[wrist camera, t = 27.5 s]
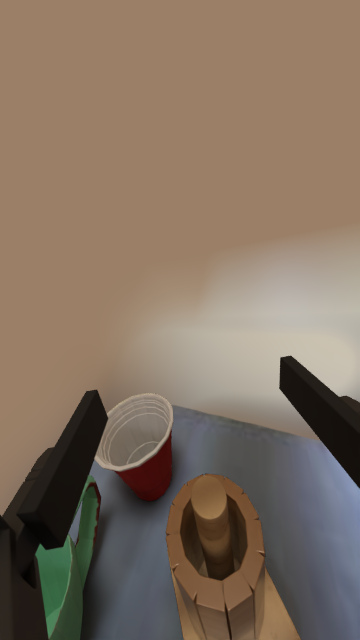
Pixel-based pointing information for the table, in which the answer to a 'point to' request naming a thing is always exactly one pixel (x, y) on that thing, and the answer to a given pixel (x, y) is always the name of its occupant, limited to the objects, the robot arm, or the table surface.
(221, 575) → the towel stand
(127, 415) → the plastic cup
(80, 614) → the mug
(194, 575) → the wooden tube
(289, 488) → the table surface
